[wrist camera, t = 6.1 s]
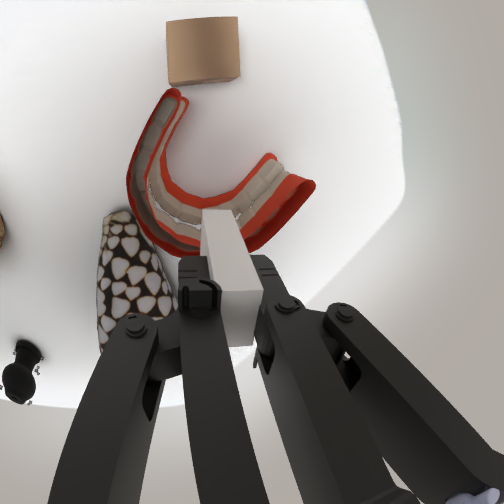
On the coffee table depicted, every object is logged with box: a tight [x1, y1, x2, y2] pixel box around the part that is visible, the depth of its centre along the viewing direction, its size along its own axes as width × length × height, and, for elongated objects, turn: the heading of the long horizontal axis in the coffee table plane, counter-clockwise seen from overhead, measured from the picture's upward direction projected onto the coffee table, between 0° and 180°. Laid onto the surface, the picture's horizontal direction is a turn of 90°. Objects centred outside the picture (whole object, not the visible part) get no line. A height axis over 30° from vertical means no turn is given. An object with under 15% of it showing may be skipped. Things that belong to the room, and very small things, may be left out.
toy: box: [126, 88, 316, 258], centre depth 21 cm, size 12×10×8 cm
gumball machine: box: [0, 341, 43, 405], centre depth 26 cm, size 7×6×10 cm
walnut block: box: [166, 17, 240, 87], centre depth 17 cm, size 5×5×5 cm
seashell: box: [97, 211, 178, 354], centre depth 25 cm, size 16×13×10 cm
